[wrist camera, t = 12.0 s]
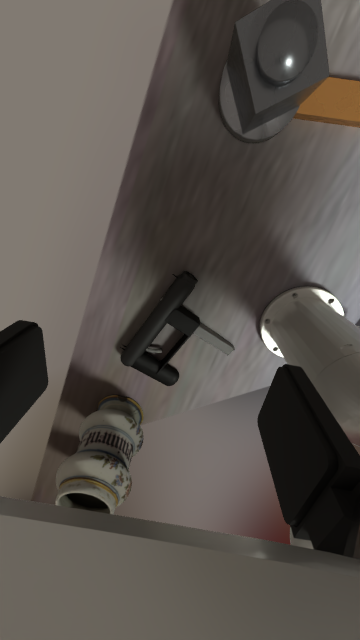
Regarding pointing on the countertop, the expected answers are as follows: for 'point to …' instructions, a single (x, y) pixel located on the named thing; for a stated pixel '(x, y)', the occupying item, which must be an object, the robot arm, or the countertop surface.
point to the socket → (276, 59)
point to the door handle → (179, 319)
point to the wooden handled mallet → (297, 109)
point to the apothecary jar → (102, 457)
